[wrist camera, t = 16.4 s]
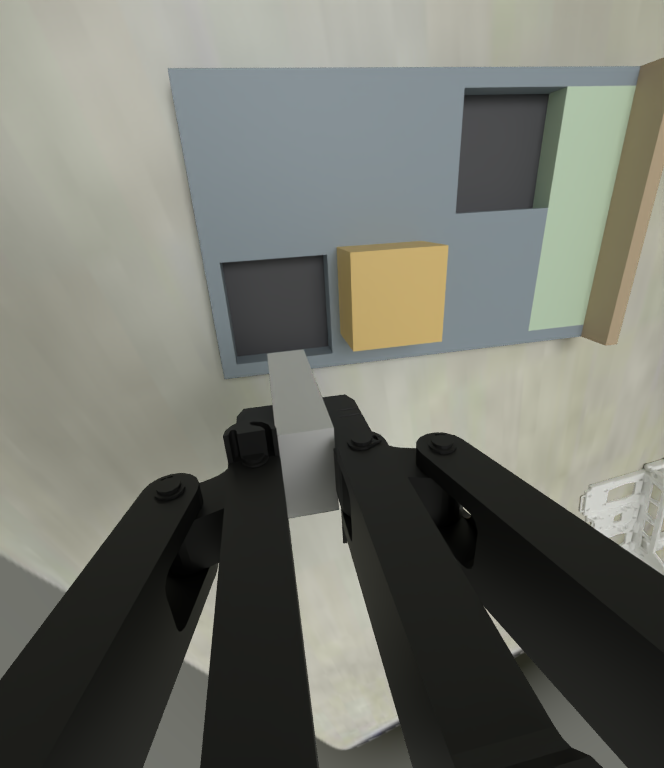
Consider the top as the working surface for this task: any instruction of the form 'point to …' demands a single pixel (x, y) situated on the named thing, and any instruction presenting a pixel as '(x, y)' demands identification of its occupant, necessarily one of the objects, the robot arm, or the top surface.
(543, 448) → the top surface
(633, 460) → the top surface
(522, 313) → the board
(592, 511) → the white bracket stand
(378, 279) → the ochre block
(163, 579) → the robot arm
